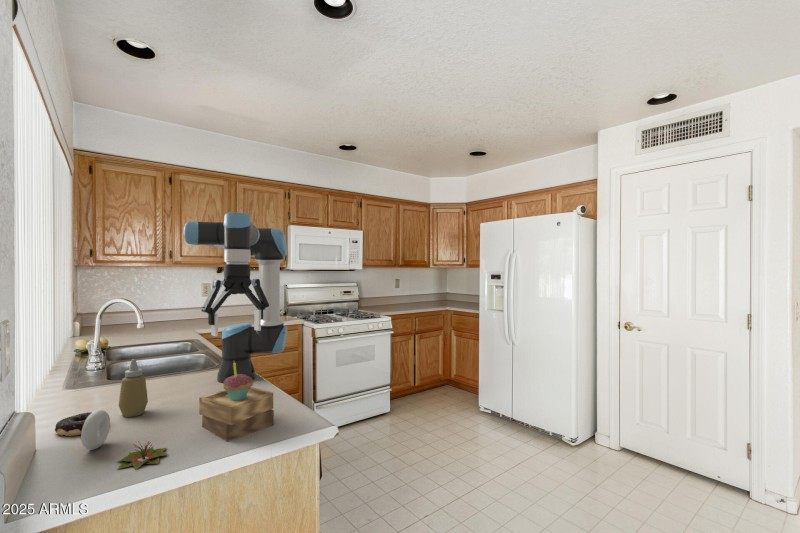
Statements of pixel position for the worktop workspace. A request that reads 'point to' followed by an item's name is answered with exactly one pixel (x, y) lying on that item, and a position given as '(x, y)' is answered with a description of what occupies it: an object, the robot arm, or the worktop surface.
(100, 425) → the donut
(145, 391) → the squeeze bottle
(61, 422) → the donut
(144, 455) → the lily flower
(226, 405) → the tower top
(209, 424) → the tower base
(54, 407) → the worktop surface
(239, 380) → the cupcake
